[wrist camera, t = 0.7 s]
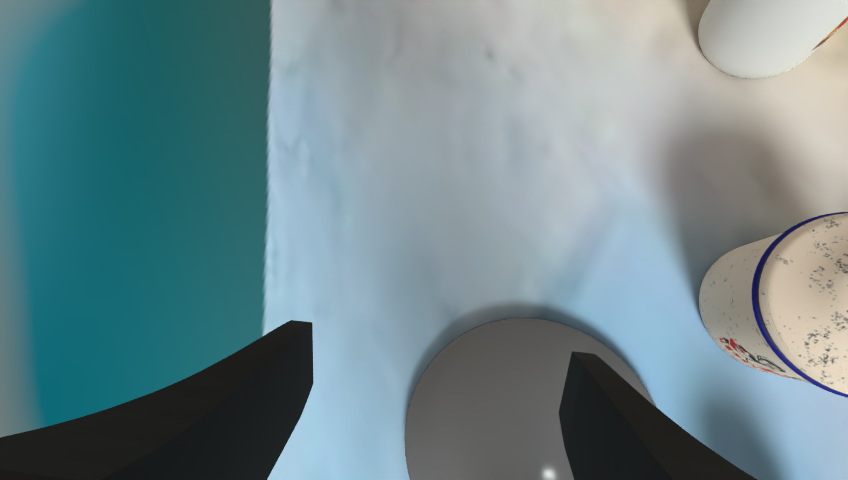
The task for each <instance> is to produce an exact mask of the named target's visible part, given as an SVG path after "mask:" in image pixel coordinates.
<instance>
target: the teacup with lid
mask: <svg viewBox="0 0 848 480" xmlns="http://www.w3.org/2000/svg"><path fill="white" fill-rule="evenodd" d="M699 308H700V313H701V317H702V320H703V323H704V325H705V328H706V329H707V331H708V333H709V335H710V336H711V337H712V339H713V340H714V341H715V343H716V344H717V345H718V346H719V347H720V348H721V349H722V350H723V351H724V352H726V353H727V354H728V355H729V356H731V357H732V358H734V359H735V360H737V361H739V362H740V363H742V364H744V365H747V366H749V367H751V368H754V369H757V370H760V371H764V372H768V373H772V374H776V375H780V376H784V377H788V378H792V379H796V380H800V381H804V382H808V383H812V384H814V385H816V386H818V387H820V388H822V389H824V390H827V391H829V392H832V393H835V394H837V395H841V396H844V397H848V212H839V213H831V214H826V215H821V216H818V217H814V218H811V219H808V220H806V221H803V222H801V223H799V224H797V225H795V226H793V227H791V228H790V229H788V230H787V231H785V232H783V233H780V234H777V235H774V236H771V237H768V238H765V239H762V240H759V241H756V242H752V243H749V244H746V245H743V246H740V247H738V248H735V249H733V250H731V251H729V252H727V253H726V254H724V255H723V256H721V257H720V258H719V259H718V260H717V261H716V262H715V263H714V264H713V265H712V266H711V267H710V268H709V270H708V271H707V273H706V275H705V277H704V279H703V281H702V284H701V288H700V293H699Z"/></svg>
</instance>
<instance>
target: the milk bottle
mask: <svg viewBox="0 0 848 480" xmlns="http://www.w3.org/2000/svg"><path fill="white" fill-rule="evenodd" d="M847 20H848V0H710V2H709V4H708V5H707V7H706V9H705V11H704V13H703V15H702V17H701V20H700V23H699V28H698V38H699V44H700V47H701V49H702V52H703V54H704V55H705V57H706V58H707V60H708V61H709V62H710V63H711V64H712V65H713V66H714V67H716V68H717V69H719V70H721V71H722V72H724V73H727V74H729V75H732V76H735V77H740V78H749V79H758V78H767V77H771V76H775V75H778V74H782V73H784V72H786V71H789V70H791V69H792V68H794V67H796V66H797V65H799V64H800V63H801V62H802V61H804V60H805V59H806V58H807V57H808V56H809V55H811V54H812V53H813V52H814V51H815V50H816V49H817V48H818V47H819V46H820V45H822V44H823V43H824V42H825V41H826V40H827V39H828V38H829V37H830V36H831V35H832V34H833V33H835V32H836V31H837V30H838V29H839V28H840V27H841V26H842V25H843V24H844V23H845V22H846V21H847Z"/></svg>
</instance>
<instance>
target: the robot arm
mask: <svg viewBox="0 0 848 480" xmlns="http://www.w3.org/2000/svg"><path fill="white" fill-rule="evenodd" d="M312 385H313V341H312V323H311V322H302V321H293V320H291V321H289V322H287V323H285V324H283V325H281V326H280V327H278V328H276V329H275V330H273V331H271V332H269V333H268V334H266V335H265V336H263V337H261V338H260V339H258V340H256V341H255V342H253V343H251V344H250V345H248V346H246V347H244V348H243V349H241V350H239V351H237V352H236V353H234V354H232V355H230V356H228V357H227V358H225V359H223V360H221V361H219V362H217V363H215V364H213V365H212V366H210V367H208V368H206V369H204V370H202V371H200V372H198V373H196V374H194V375H192V376H190V377H188V378H186V379H183V380H181V381H179V382H177V383H174V384H172V385H170V386H167V387H165V388H163V389H160V390H158V391H156V392H153V393H150V394H148V395H145V396H142V397H140V398H137V399H134V400H131V401H129V402H126V403H123V404H121V405H118V406H115V407H112V408H109V409H106V410H103V411H100V412H97V413H94V414H90V415H87V416H84V417H80V418H77V419H73V420H70V421H66V422H63V423H59V424H55V425H52V426H48V427H44V428H40V429H36V430H32V431H28V432H23V433H19V434H14V435H10V436H5V437H2V438H0V480H267V478H268V476H269V475H270V473H271V471H272V469H273V467H274V465H275V464H276V462H277V460H278V458H279V456H280V454H281V452H282V451H283V449H284V447H285V445H286V443H287V441H288V439H289V438H290V436H291V434H292V432H293V430H294V428H295V426H296V424H297V422H298V420H299V419H300V417H301V414H302V412H303V409H304V407H305V404H306V402H307V399H308V396H309V394H310V391H311V388H312ZM559 418H560V425H561V431H562V436H563V442H564V447H565V451H566V454H567V458H568V461H569V464H570V468H571V471H572V474H573V477H574V480H757V479H755V478H753V477H752V476H750V475H748V474H747V473H745V472H744V471H742V470H741V469H739V468H738V467H736V466H734V465H733V464H731V463H730V462H728V461H727V460H726V459H724V458H723V457H721V456H720V455H718V454H717V453H715V452H714V451H712V450H711V449H710V448H708V447H707V446H705V445H704V444H702V443H701V442H700V441H698V440H697V439H696V438H694V437H693V436H691V435H690V434H689V433H688V432H686V431H685V430H684V429H682V428H681V427H680V426H679V425H677V424H676V423H675V422H674V421H672V420H671V419H670V418H668V417H667V416H666V415H665V414H664V413H662V412H661V411H660V410H659V409H658V408H656V407H655V406H654V405H653V404H652V403H650V402H649V401H648V400H647V399H646V398H645V397H643V396H642V395H641V394H640V393H639V392H638V391H637V390H636V389H634V388H633V387H632V386H631V385H630V384H629V383H628V382H627V381H625V380H624V379H623V378H622V377H621V376H620V375H619V374H618V373H617V372H616V371H614V370H613V369H612V368H611V367H610V366H609V365H608V364H607V363H605V362H604V361H603V360H602V359H601V358H600V357H598V356H597V355H596V354H592V353H583V352H574V351H572V353H571V357H570V362H569V367H568V371H567V376H566V380H565V385H564V390H563V394H562V399H561V403H560V408H559Z"/></svg>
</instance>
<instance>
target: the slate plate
mask: <svg viewBox="0 0 848 480" xmlns="http://www.w3.org/2000/svg"><path fill="white" fill-rule="evenodd" d="M572 351H574V352H583V353H592V354H596V355H597V356H598V357H600V358H601V359H602V360H603V361H604V362H605V363H607V364H608V365H609V366H610V367H611V368H612V369H613V370H614V371H616V372H617V373H618V374H619V375H620V376H621V377H622V378H623V379H624V380H625V381H627V382H628V383H629V384H630V385H631V386H632V387H633V388H634V389H636V390H637V391H638V392H639V393H640V394H641V395H642V396H643V397H645V398H646V399H647V400H648V401H649V402H650V403H652V404H653V405H654V406H655V404H654V402H653V400H652V398H651V397H650V395H649V393H648V391H647V390H646V388H645V386H644V385H643V384H642V382H641V381H640V380H639V378H638V377H637V376H636V374H635V373H634V372H633V371H632V370H631V369H630V368H629V366H628V365H627V364H626V363H625V362H624V361H623V360H622V359H621V358H620V357H619V356H617V355H616V354H615V353H614V352H613V351H611V350H610V349H609V348H608V347H607V346H605V345H604V344H602V343H600V342H599V341H597V340H596V339H594V338H593V337H591V336H589V335H587V334H585V333H583V332H581V331H579V330H577V329H575V328H572V327H569V326H566V325H563V324H560V323H557V322H553V321H548V320H543V319H534V318H511V319H504V320H499V321H494V322H490V323H487V324H484V325H481V326H478V327H476V328H474V329H472V330H470V331H468V332H466V333H464V334H462V335H461V336H459V337H458V338H456V339H455V340H453V341H452V342H450V343H449V344H448V345H447V346H446V347H445V348H444V349H442V350H441V351H440V352H439V353H438V355H437V356H436V357H435V358H434V359H433V360H432V361H431V363H430V364H429V365H428V367H427V368H426V370H425V371H424V373H423V374H422V376H421V378H420V380H419V382H418V384H417V386H416V388H415V390H414V393H413V396H412V399H411V402H410V405H409V409H408V414H407V419H406V428H405V456H406V462H407V468H408V474H409V477H410V480H574V477H573V474H572V471H571V468H570V464H569V461H568V458H567V454H566V451H565V447H564V442H563V436H562V431H561V425H560V418H559V408H560V403H561V399H562V394H563V390H564V385H565V380H566V376H567V371H568V367H569V362H570V357H571V353H572ZM655 407H656V406H655Z"/></svg>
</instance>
